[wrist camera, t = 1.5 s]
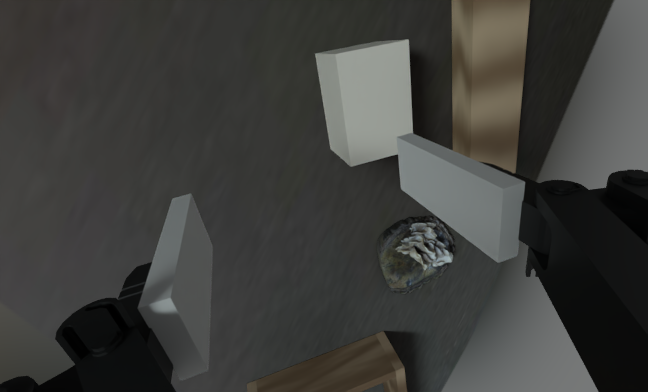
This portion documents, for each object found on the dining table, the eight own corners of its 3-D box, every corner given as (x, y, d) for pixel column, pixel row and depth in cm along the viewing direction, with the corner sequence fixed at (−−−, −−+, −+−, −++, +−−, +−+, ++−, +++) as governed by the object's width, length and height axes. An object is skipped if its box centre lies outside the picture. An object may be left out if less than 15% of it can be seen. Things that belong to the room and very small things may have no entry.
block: (314, 53, 30) (335, 53, 24) (376, 41, 31) (408, 39, 25) (330, 148, 34) (350, 166, 28) (384, 134, 35) (413, 149, 29)
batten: (451, -72, 29) (474, -84, 26) (509, -81, 30) (538, -94, 27) (452, 178, 39) (469, 187, 37) (496, 165, 40) (515, 173, 38)
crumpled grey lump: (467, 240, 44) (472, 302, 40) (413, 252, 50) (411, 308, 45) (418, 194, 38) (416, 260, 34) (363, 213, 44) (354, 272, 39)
